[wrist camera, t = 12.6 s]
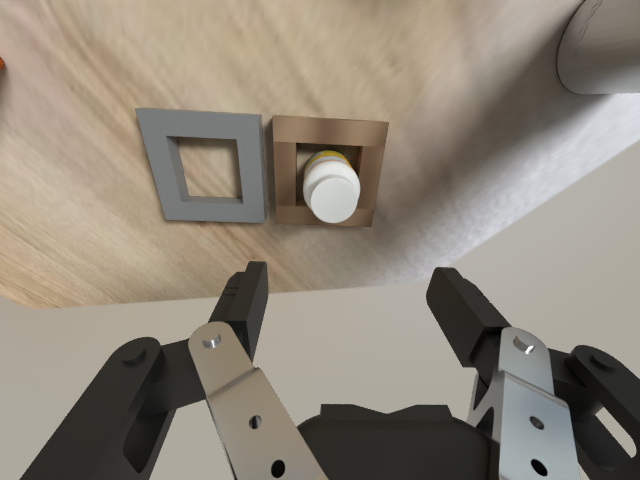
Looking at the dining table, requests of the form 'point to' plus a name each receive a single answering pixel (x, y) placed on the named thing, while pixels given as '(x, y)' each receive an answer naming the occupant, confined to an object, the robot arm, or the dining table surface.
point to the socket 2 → (326, 132)
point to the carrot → (1, 63)
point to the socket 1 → (168, 169)
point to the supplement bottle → (330, 186)
